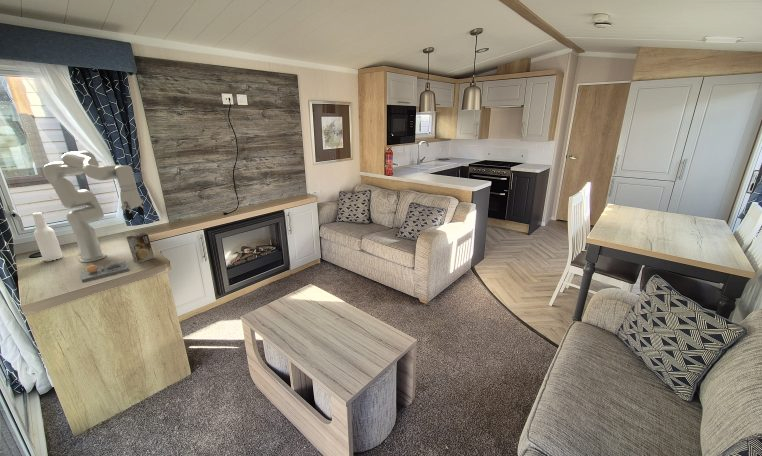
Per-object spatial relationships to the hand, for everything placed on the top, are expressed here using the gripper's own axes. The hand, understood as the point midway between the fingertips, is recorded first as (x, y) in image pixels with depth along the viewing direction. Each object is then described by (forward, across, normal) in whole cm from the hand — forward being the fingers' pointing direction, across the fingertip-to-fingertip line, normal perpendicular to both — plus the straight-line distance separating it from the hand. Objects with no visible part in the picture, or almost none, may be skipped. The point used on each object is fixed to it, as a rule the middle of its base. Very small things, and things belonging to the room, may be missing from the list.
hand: (136, 217), depth 181 cm
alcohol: (+29, -14, -64) cm, 72 cm away
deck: (+29, +11, -17) cm, 35 cm away
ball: (+25, +14, -21) cm, 35 cm away
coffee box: (+29, -6, -6) cm, 30 cm away
